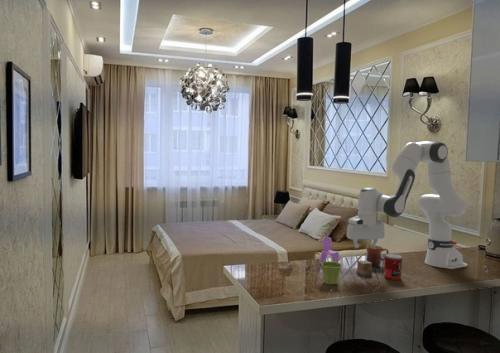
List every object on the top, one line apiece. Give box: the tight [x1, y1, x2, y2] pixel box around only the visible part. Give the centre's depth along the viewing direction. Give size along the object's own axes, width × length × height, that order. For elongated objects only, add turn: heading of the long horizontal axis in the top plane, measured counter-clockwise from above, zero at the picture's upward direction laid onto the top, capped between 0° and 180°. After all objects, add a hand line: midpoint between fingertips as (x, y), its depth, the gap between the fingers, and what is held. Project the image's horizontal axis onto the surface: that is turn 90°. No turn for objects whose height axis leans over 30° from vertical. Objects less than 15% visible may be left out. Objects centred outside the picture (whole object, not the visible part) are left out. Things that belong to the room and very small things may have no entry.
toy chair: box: [318, 236, 340, 265], centre depth 210 cm, size 8×9×15 cm
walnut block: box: [356, 260, 373, 276], centre depth 196 cm, size 5×5×6 cm
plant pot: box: [320, 261, 343, 285], centre depth 180 cm, size 9×9×9 cm
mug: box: [365, 244, 390, 268], centre depth 211 cm, size 12×9×10 cm
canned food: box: [384, 253, 403, 281], centre depth 190 cm, size 8×8×11 cm
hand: (365, 247), depth 195 cm, fingers open, 8 cm apart
